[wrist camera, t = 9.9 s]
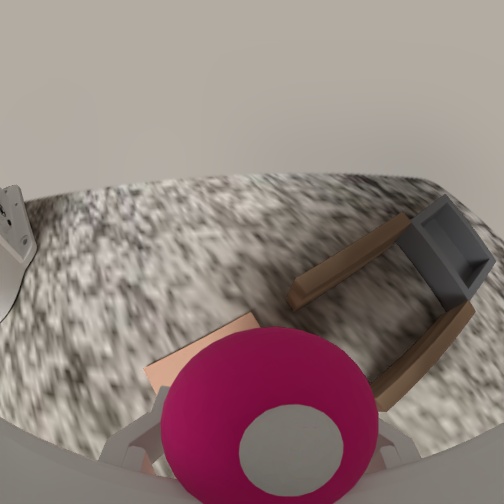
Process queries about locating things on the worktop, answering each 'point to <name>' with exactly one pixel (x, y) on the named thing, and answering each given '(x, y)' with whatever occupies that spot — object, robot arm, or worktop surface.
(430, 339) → the walnut channel
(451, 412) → the worktop surface
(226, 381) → the pepper mill
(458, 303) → the box
